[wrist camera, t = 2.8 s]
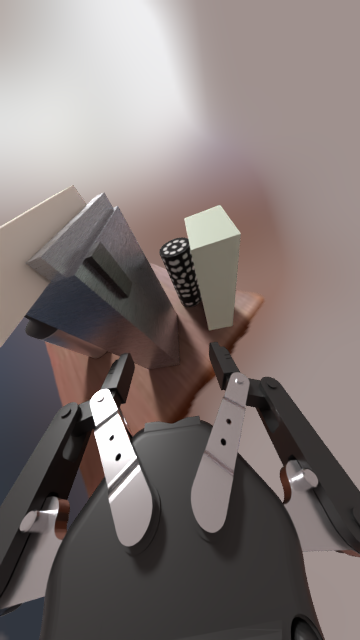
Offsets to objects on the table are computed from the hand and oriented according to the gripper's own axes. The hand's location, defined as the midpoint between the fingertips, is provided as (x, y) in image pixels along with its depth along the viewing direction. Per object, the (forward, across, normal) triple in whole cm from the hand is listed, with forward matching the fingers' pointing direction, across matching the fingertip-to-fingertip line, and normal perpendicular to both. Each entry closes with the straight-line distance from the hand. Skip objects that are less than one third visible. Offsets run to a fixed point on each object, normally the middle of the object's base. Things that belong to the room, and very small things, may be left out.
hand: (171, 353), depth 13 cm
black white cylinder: (+36, +8, -9) cm, 38 cm away
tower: (+24, -4, -18) cm, 30 cm away
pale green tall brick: (+27, +14, -11) cm, 33 cm away
